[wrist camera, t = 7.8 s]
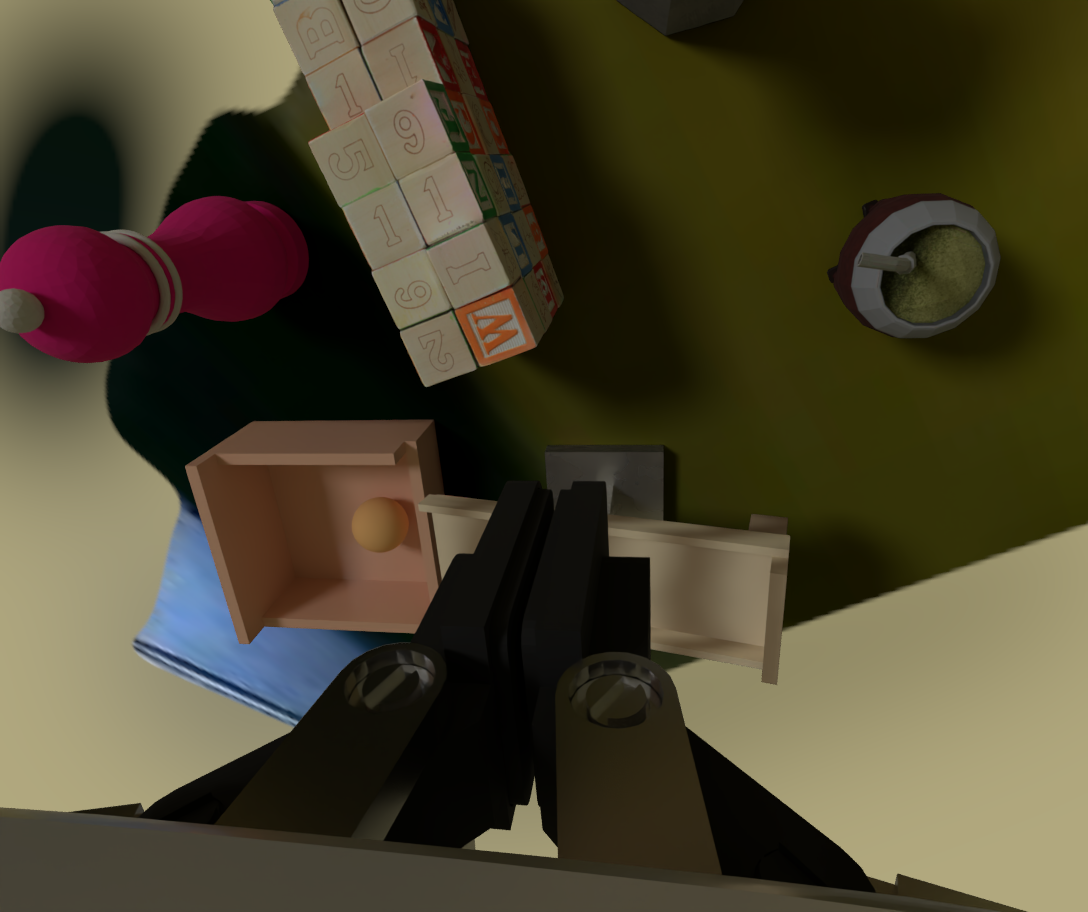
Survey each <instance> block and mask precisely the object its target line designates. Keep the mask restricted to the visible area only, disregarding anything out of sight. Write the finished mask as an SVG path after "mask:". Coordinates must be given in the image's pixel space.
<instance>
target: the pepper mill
mask: <svg viewBox="0 0 1088 912" xmlns="http://www.w3.org/2000/svg"><path fill="white" fill-rule="evenodd" d="M308 266H309V255H308V247H307V244H306V241H305V238H304V236H303V233H302V231H301V230H300V228H299V227H298V225H297V224H296V223H295V221H294V220H293V219H292V218H291V217H290V216H289V215H288V214H287V213H285V212H284V211H283V210H281V209H280V208H278V207H276V206H274V205H272V204H269V203H266V202H261V201H248V202H243V201H240V200H237V199H234V198H230V197H223V196H212V197H205V198H201V199H197V200H194V201H191V202H189V203H186V204H184V205H183V206H181V207H180V208H178V209H177V210H175V211H174V212H172V213H171V214H170V215H169V216H168V217H167V218H166V219H165V220H164V221H163V222H162V223H161V225H160V226H159V227H158V228H157V229H156V231H155V232H154V233H153V234H151V235H150V236H148V237H146V236H144V235H142V234H139V233H136V232H133V231H129V230H114V231H109V232H97V231H95V230H92V229H89V228H86V227H77V226H66V225H65V226H64V225H58V226H52V227H46V228H42V229H39V230H36V231H33V232H31V233H29V234H27V235H25V236H23V237H22V238H20V239H18V240H17V241H16V242H15V243H14V244H13V245H12V246H11V247H10V248H9V249H8V250H7V252H6V253H5V254H4V256H3V258H2V260H1V262H0V327H1V328H3V329H4V330H7V331H9V332H13V333H19V334H20V335H21V337H22V338H24V339H25V340H26V341H27V342H28V343H29V344H31V345H32V346H34V347H35V348H37V349H39V350H40V351H42V352H44V353H46V354H48V355H51V356H53V357H56V358H59V359H62V360H66V361H71V362H78V363H94V362H103V361H107V360H111V359H115V358H118V357H120V356H122V355H125V354H127V353H129V352H130V351H131V350H132V349H134V348H135V347H136V346H138V345H139V344H140V343H141V342H142V341H143V339H144V338H145V336H147V335H150V334H152V333H154V332H158V331H161V330H163V329H165V328H167V327H168V326H170V325H171V324H172V323H173V322H174V321H175V319H176V318H177V316H178V314H179V313H182V312H189V313H192V314H195V315H198V316H201V317H204V318H208V319H212V320H218V321H231V322H234V321H242V320H247V319H251V318H255V317H258V316H260V315H262V314H264V313H266V312H267V311H269V310H270V309H271V308H272V307H273V306H274V305H275V304H276V303H277V302H278V301H279V299H282V298H284V297H287V296H289V295H291V294H293V293H294V292H295V291H297V289H298V288H299V287H300V286H301V285H302V283H303V282H304V280H305V278H306V275H307V271H308Z"/></svg>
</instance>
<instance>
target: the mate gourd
mask: <svg viewBox="0 0 1088 912" xmlns="http://www.w3.org/2000/svg"><path fill="white" fill-rule="evenodd" d="M862 209H863V215H864V218H863V219H862V220H861V221H860V222H859V223H858V224H857V225H856V226H855V227H854V228H853V230H852V232H851V233H850V235H849V237H848V239H847V241H846V243H845V245H844V247H843V248H842V250H841V252H840V258H839V263H838V265H837V266H835V267H833V268H831V269H829V270H828V272H827V273H828V277H829V280H830V282H831V283H834V288H835V289H836V291H837V292H838V294H839V296H840V298H841V300H842V301H843V303H844V305H845V306H846V307H847V308H848V310H849V311H850V312H851V313H852V314H853V315H854V316H855V317H856V318H857V319H858V320H859V321H860V322H861V323H862V325H864V326H866V327H869V328H871V329H874V330H876V331H879V332H881V333H884V334H886V335H889V336H891V337H897V338H928V337H931V336H933V335H936V334H939V333H942V332H944V331H947V330H950V329H953V328H955V327H956V326H958V325H959V324H960V323H962V322H963V321H964V320H965V319H967V318H968V317H969V316H971V315H972V314H973V313H974V312H976V311H977V310H978V309H979V308H980V306H981V305H982V303H983V302H984V300H985V299H986V297H987V296H988V294H989V293H990V291H991V290H992V288H993V287H994V285H995V281H996V276H997V272H998V267H999V263H1000V258H1001V257H1000V252H999V248H998V243H997V239H996V234H995V230H994V229H993V228H992V227H991V226H990V225H989V223H988V222H987V221H986V220H985V219H984V218H983V216H982V215H981V214H980V213H979V212H978V211H977V210H975V209H974V208H973V206H971V205H968V204H966V203H963V202H961V201H958V200H956V199H953V198H951V197H948V196H946V195H943V194H941V193H936V194H909V195H901V196H898V197H894V198H889V199H883V200H880V201H879V202H878V201H877V200H874V201H871V202H869V203H866V204H864V205H863V206H862Z"/></svg>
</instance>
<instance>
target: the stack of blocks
mask: <svg viewBox="0 0 1088 912" xmlns="http://www.w3.org/2000/svg"><path fill="white" fill-rule="evenodd" d="M270 1H271V2H272V4H273V5H274V9H273V10H274V13H275V15H276V17H277V19H278V21H279V23H280V25H281V28H282V30H283V32H284V34H285V36H286V38H287V40H288V43H289V44H290V46H291V48H292V51H293V53H294V55H295V57H296V59H297V61H298V64H299V66H300V68H301V70H302V72H303V74H304V75H305V76H306V80H307V83H308V86H309V88H310V90H311V92H312V94H313V96H314V98H315V100H316V103H317V105H318V107H319V109H320V111H321V113H322V115H323V117H324V119H325V121H326V123H327V125H328V127H329V129H330V131H328V132H326V133H324V134H322V135H320V136H318V137H316V138H314V139H312V140H310V141H309V143H308V144H309V146H310V148H311V150H312V152H313V154H314V156H315V158H316V160H317V162H318V164H319V167H320V169H321V171H322V172H323V174H324V176H325V178H326V180H327V183H328V185H329V187H330V189H331V191H332V193H333V195H334V197H335V199H336V201H337V203H338V205H339V206H340V207H341V208H342V209H343V212H344V214H345V216H346V218H347V221H348V223H349V225H350V227H351V229H352V231H353V233H354V235H355V237H356V239H357V241H358V243H359V245H360V247H361V249H362V251H363V254H364V256H365V258H366V260H367V262H368V263H369V265H370V267H371V268H372V275H373V278H374V280H375V282H376V284H377V286H378V288H379V290H380V292H381V295H382V297H383V299H384V301H385V303H386V305H387V307H388V309H389V311H390V313H391V315H392V317H393V319H394V321H395V324H396V326H397V327H398V329H400V335H401V338H402V340H403V342H404V345H405V347H406V349H407V351H408V353H409V355H410V357H411V360H412V362H413V364H414V366H415V368H416V370H417V372H418V375H419V377H420V379H421V381H422V383H423V384H424V386H425V387H428V386H431V385H434V384H437V383H439V382H442V381H445V380H448V379H451V378H454V377H457V376H459V375H462V374H465V373H468V372H471V371H474V370H476V369H477V368H478V367H479V366H481V367H482V366H487V365H490V364H492V363H495V362H498V361H501V360H503V359H506V358H509V357H512V356H514V355H517V354H520V353H523V352H525V351H528V350H531V349H533V348H535V347H537V345H538V343H539V341H540V339H541V338H542V336H543V334H545V332H546V331H547V329H548V328H549V325H550V324H551V322H552V318H553V317H554V315H555V313H556V311H557V308H559V307H560V305H561V304H562V302H563V300H564V296H563V293H562V290H561V287H560V285H559V282H558V279H557V277H556V274H555V271H554V269H553V266H552V263H551V260H550V258H549V255H548V249H547V246H546V243H545V241H544V238H543V235H542V233H541V230H540V227H539V225H538V222H537V219H536V217H535V214H534V211H533V209H532V206H531V204H530V201H529V198H528V195H527V192H526V189H525V187H524V184H523V181H522V179H521V176H520V173H519V171H518V168H517V166H516V163H515V160H514V158H513V156H512V154H510V153H509V151H508V147H507V144H506V142H505V139H504V137H503V135H502V132H501V129H500V126H499V124H498V121H497V118H496V116H495V113H494V110H493V108H492V105H491V103H490V102H489V101H488V98H487V95H486V92H485V89H484V87H483V84H482V81H481V79H480V76H479V73H478V71H477V69H476V66H475V63H474V61H473V58H472V55H471V53H470V50H469V48H468V45H469V42H468V39H467V36H466V33H465V31H464V28H463V25H462V23H461V20H460V17H459V15H458V12H457V9H456V7H455V4H454V2H453V0H270Z"/></svg>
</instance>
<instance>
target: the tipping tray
mask: <svg viewBox="0 0 1088 912" xmlns="http://www.w3.org/2000/svg"><path fill="white" fill-rule="evenodd" d="M497 502H498V501H490V500H482V499H473V498H465V497H456V496H448V495H439V494H437V495H431V494H429V495H428V496H427V497H425V498H424V499H423V500H422V501H421V502H420V503H419V504H418V507H419V511H422V512H430V513H432V517H433V524H434V531H435V537H436V544H437V550H438V557H439V564H440V570H441V577H442V579H443V577H444V575H445V573H446V571H447V569H448V567H449V565H450V564H451V562H452V560H453V558H454V557H455V555H456V554H459V553H470V554H473V553H474V551H475V549H476V547H477V545H478V543H479V540H480V538H481V536H482V534H483V532H484V530H485V528H486V525H487V523H488V521H489V519H490V517H491V515H492V512H493V510H494V508H495V506H496V504H497ZM554 510H555V508H554ZM787 522H788V518H785V517H775V516H766V515H757V514H751V520H750V525H749V530H739V529H730V528H722V527H713V526H705V525H696V524H688V523H679V522H670V521H662V520H653V519H645V518H636V517H628V516H619V515H610V514H608V538H609V556H614V557H650V587H651V649H654V650H659V651H665V652H670V653H676V654H681V655H686V656H692V657H697V658H703V659H708V660H714V661H719V662H724V663H730V664H736V665H741V666H746V667H751V668H757V669H762V682H765V683H770V684H775V685H777V679H778V667H779V657H780V646H781V635H782V625H783V614H784V603H785V592H786V581H787V569H788V557H789V545H790V535H786V533H787Z"/></svg>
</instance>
